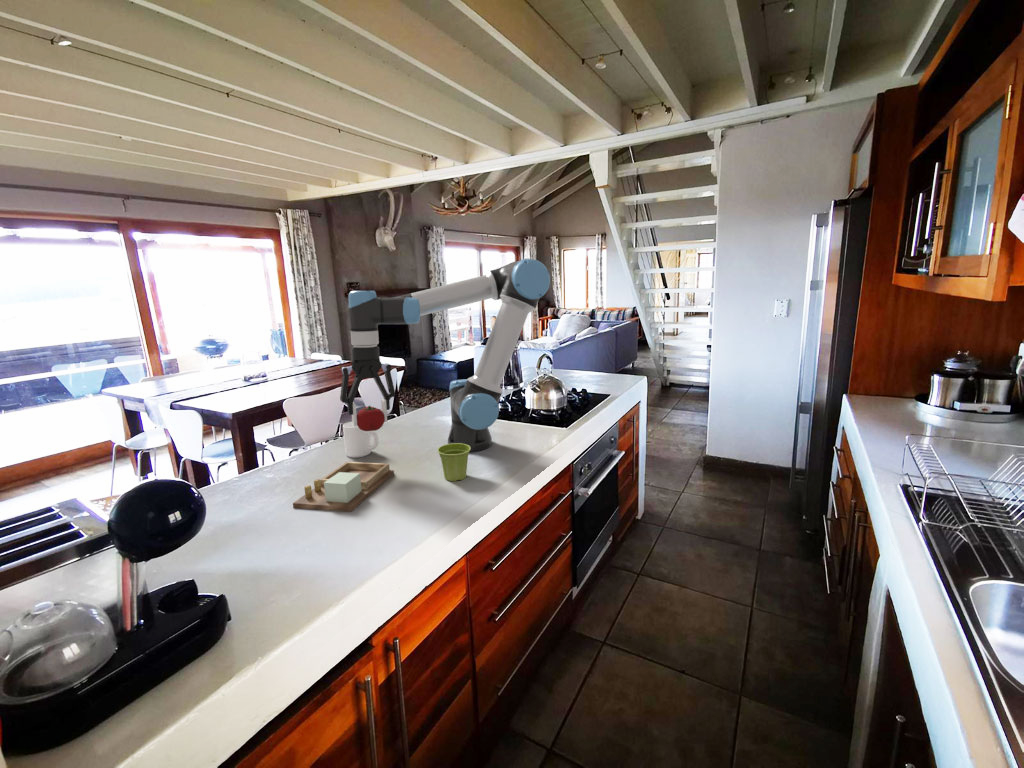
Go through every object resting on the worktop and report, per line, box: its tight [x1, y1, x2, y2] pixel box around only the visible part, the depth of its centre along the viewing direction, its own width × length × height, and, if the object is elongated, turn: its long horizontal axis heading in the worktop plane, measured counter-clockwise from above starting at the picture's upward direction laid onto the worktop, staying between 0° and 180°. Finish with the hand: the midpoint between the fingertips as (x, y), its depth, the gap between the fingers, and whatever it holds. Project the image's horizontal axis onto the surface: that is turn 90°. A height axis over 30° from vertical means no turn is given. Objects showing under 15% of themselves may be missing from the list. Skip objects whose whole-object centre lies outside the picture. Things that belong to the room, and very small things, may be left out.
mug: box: [342, 421, 379, 458], centre depth 155 cm, size 12×8×10 cm
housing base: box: [292, 461, 395, 513], centre depth 128 cm, size 16×24×4 cm, turn 169°
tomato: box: [356, 405, 385, 432], centre depth 138 cm, size 8×8×7 cm
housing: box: [324, 472, 362, 503], centre depth 121 cm, size 6×7×5 cm
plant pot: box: [437, 443, 471, 482], centre depth 133 cm, size 9×9×9 cm
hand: (370, 422), depth 138 cm, fingers closed on tomato, 8 cm apart
